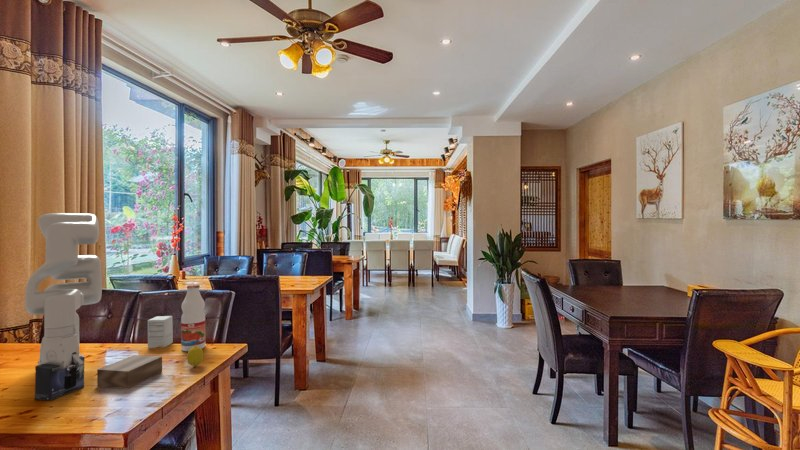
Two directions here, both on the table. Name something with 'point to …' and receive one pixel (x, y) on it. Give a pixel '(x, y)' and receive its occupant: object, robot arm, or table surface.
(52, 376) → the small box
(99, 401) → the table surface
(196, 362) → the lemon
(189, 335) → the fruit juice
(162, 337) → the supplement box
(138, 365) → the walnut block
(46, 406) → the table surface
